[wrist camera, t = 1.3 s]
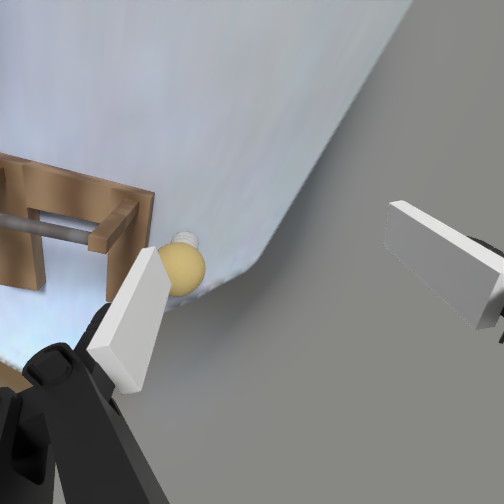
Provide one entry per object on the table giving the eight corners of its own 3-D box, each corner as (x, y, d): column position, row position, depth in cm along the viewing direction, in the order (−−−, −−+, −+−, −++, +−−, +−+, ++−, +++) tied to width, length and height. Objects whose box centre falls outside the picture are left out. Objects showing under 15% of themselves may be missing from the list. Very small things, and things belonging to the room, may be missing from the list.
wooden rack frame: (10, 276, 37) (-73, 344, 27) (-13, 149, 28) (-148, 177, 18) (141, 297, 41) (113, 364, 31) (154, 192, 32) (122, 236, 22)
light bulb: (180, 211, 34) (165, 249, 26) (217, 238, 37) (215, 281, 28) (153, 243, 36) (131, 288, 28) (190, 267, 39) (181, 314, 30)
